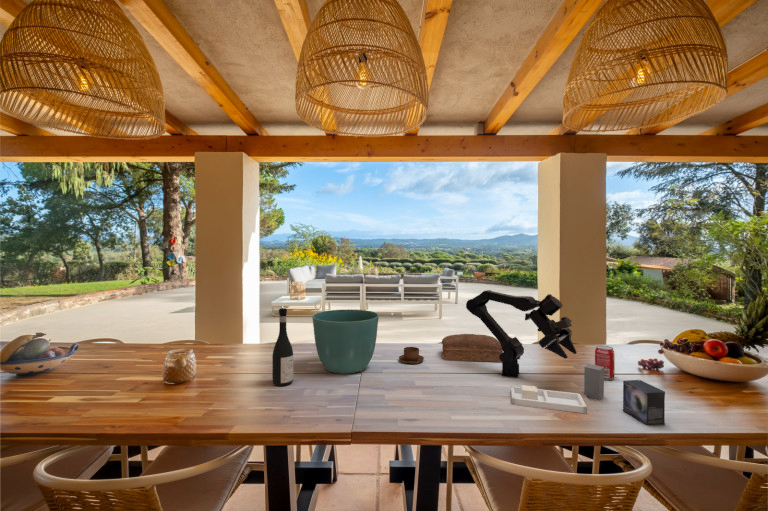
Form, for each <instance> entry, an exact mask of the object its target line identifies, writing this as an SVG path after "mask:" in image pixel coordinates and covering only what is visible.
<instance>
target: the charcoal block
mask: <svg viewBox="0 0 768 511" xmlns="http://www.w3.org/2000/svg"><path fill="white" fill-rule="evenodd" d="M583 369H584V375H583V379H584V383H583V384H584V385H583V387H584V388H583V390H584V391H583V392H584V393H583V394H584V395H585V396H586V398H588V399H592V400H596V401H598V402H599V401H601V400H602V399H604V396H605V394H604V393H605V392H604V391H605V380H604V367H601V366H596V365H595V364H590V363H589V364H587V365H585V366H584V368H583Z"/></svg>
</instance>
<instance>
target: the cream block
mask: <svg viewBox="0 0 768 511" xmlns="http://www.w3.org/2000/svg"><path fill="white" fill-rule="evenodd" d="M521 387H522V399H531V400H538V391H537V389H538V387H537V386H533V385H524V384H521Z"/></svg>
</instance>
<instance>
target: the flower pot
mask: <svg viewBox="0 0 768 511" xmlns="http://www.w3.org/2000/svg"><path fill="white" fill-rule="evenodd" d="M311 317H312V327H313V336H314V342H315V347H316V348H315V349H316V353H317V355H318V359H319V361H320V363H321V364H322V366H323V367H324V369H326V370H327V372H330V373H334V374H344V375H345V374H346V375H347V374H354V373H355V374H356V373H358V372H362V371H363V370H365V369H366V368H367V367H368V365H369V364H370V362H371V360H372V357H373V355H374V353H375V347H376V344H377V343H376V342H377V337H378V325H379V313H377V312H375V311H371V310H365V309H333V310H326V311H319V312H317V313H314V314H313V315H312V316H311Z"/></svg>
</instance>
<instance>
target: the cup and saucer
mask: <svg viewBox="0 0 768 511" xmlns="http://www.w3.org/2000/svg"><path fill="white" fill-rule="evenodd" d="M398 359H399V360H400V362H403V363H406V364H418V363H422V362H423V361H424V359H425V357H424V356H423V355H420V348H419V347H416V346H406V347H404V348H403V354H402V355H400V356H398Z"/></svg>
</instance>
